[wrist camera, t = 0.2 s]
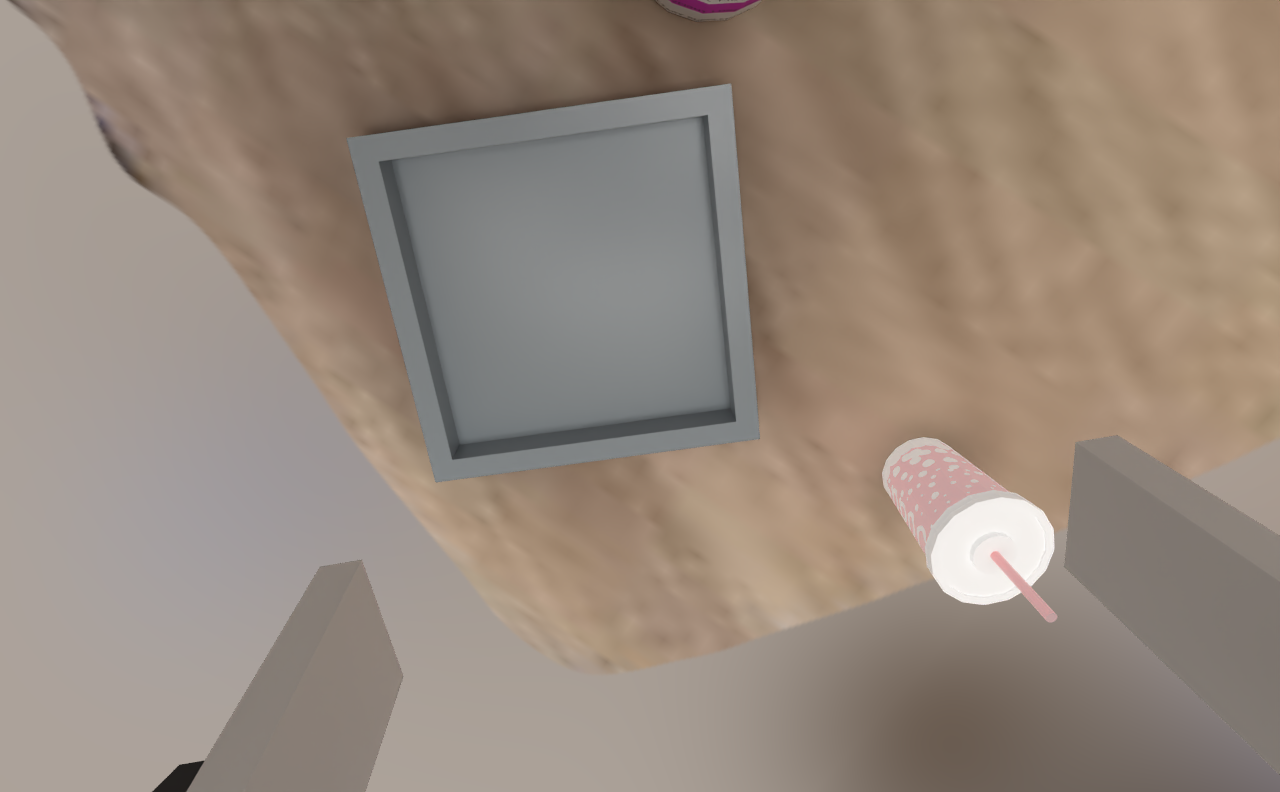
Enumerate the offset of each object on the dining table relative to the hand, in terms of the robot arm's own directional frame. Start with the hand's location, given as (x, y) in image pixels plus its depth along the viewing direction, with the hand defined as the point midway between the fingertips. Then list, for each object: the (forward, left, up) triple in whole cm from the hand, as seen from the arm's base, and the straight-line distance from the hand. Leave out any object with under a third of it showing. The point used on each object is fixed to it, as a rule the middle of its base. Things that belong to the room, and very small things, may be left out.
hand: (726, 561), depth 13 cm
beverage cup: (+14, +15, -28) cm, 34 cm away
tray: (0, -4, -27) cm, 28 cm away
